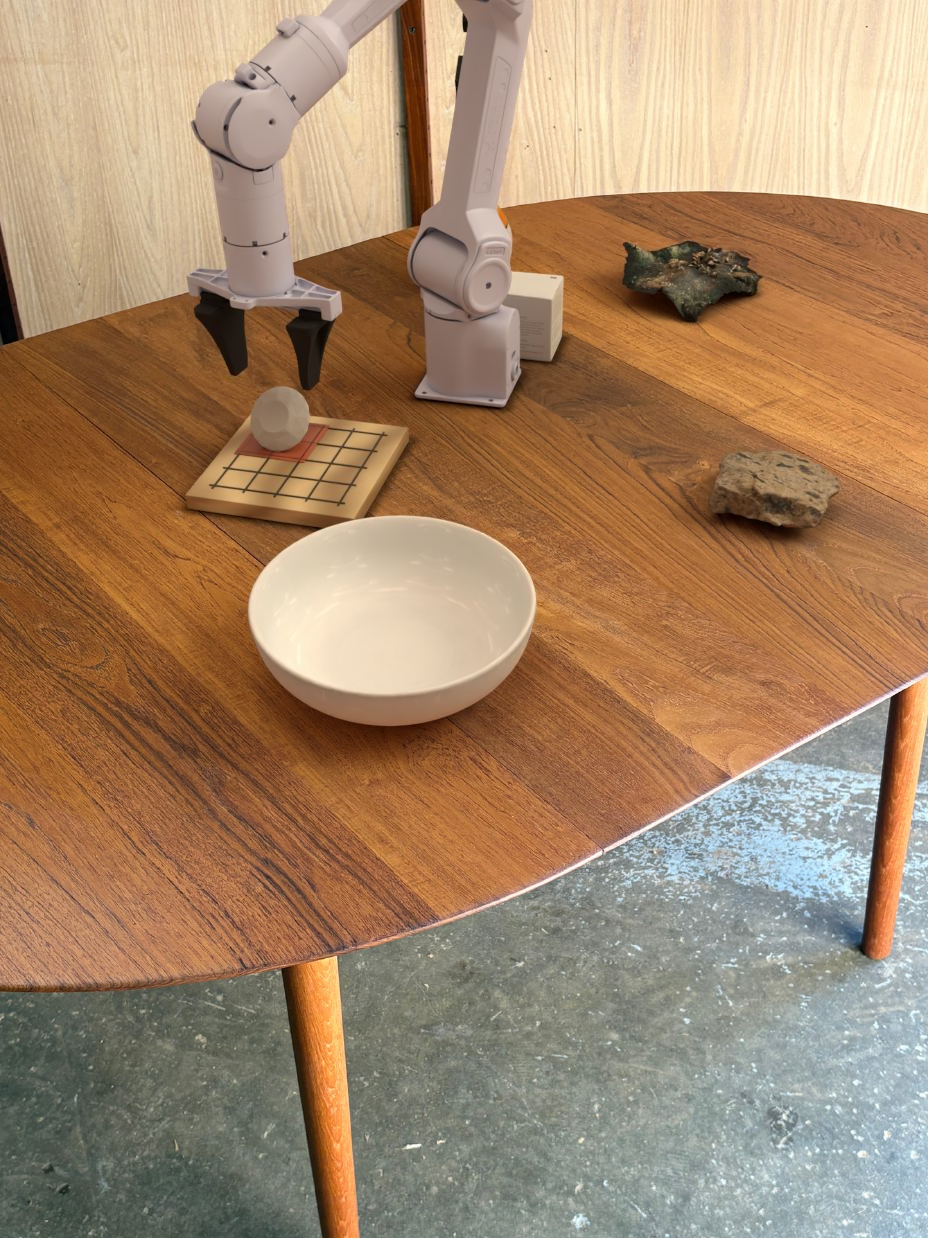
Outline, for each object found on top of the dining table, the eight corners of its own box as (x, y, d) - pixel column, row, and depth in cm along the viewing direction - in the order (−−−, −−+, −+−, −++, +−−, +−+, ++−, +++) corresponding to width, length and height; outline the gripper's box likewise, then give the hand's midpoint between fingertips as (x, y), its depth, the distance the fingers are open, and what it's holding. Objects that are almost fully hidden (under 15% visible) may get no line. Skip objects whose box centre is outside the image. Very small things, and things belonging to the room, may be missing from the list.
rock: (848, 485, 110) (857, 444, 108) (817, 550, 103) (825, 507, 100) (735, 460, 114) (740, 420, 112) (697, 520, 107) (701, 479, 104)
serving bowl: (309, 802, 82) (298, 728, 78) (228, 624, 97) (215, 553, 93) (583, 713, 88) (587, 640, 84) (467, 558, 103) (466, 489, 99)
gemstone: (327, 393, 117) (305, 382, 112) (325, 457, 117) (303, 448, 112) (269, 395, 119) (245, 384, 114) (267, 458, 119) (243, 450, 114)
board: (409, 440, 118) (408, 426, 117) (355, 532, 106) (353, 517, 105) (256, 421, 122) (254, 407, 121) (187, 508, 110) (184, 494, 109)
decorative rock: (669, 213, 152) (785, 227, 145) (667, 262, 155) (780, 278, 148) (598, 256, 139) (722, 273, 132) (597, 308, 142) (718, 328, 135)
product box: (509, 332, 136) (509, 269, 132) (563, 337, 135) (565, 274, 130) (496, 356, 132) (495, 292, 127) (551, 362, 130) (552, 298, 126)
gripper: (157, 239, 103) (183, 383, 112) (307, 264, 98) (322, 412, 107) (203, 210, 108) (225, 350, 117) (348, 232, 103) (360, 376, 112)
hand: (274, 378), depth 112 cm, fingers open, 7 cm apart
